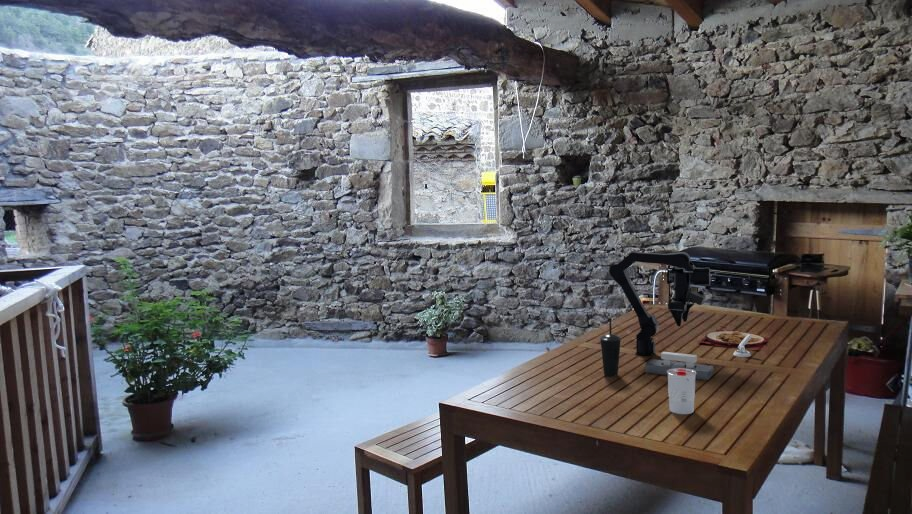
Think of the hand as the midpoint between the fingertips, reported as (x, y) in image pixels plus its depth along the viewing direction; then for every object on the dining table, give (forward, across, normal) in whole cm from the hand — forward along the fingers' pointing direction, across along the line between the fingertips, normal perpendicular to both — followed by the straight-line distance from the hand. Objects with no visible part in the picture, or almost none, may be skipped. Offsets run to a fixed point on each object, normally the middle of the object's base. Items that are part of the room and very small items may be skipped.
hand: (682, 323), depth 262 cm
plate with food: (+14, +35, -14) cm, 40 cm away
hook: (+13, +12, -20) cm, 27 cm away
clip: (+13, -24, -5) cm, 28 cm away
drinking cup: (+13, -36, +16) cm, 42 cm away
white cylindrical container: (+13, -63, -16) cm, 66 cm away
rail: (+13, -24, -5) cm, 28 cm away
